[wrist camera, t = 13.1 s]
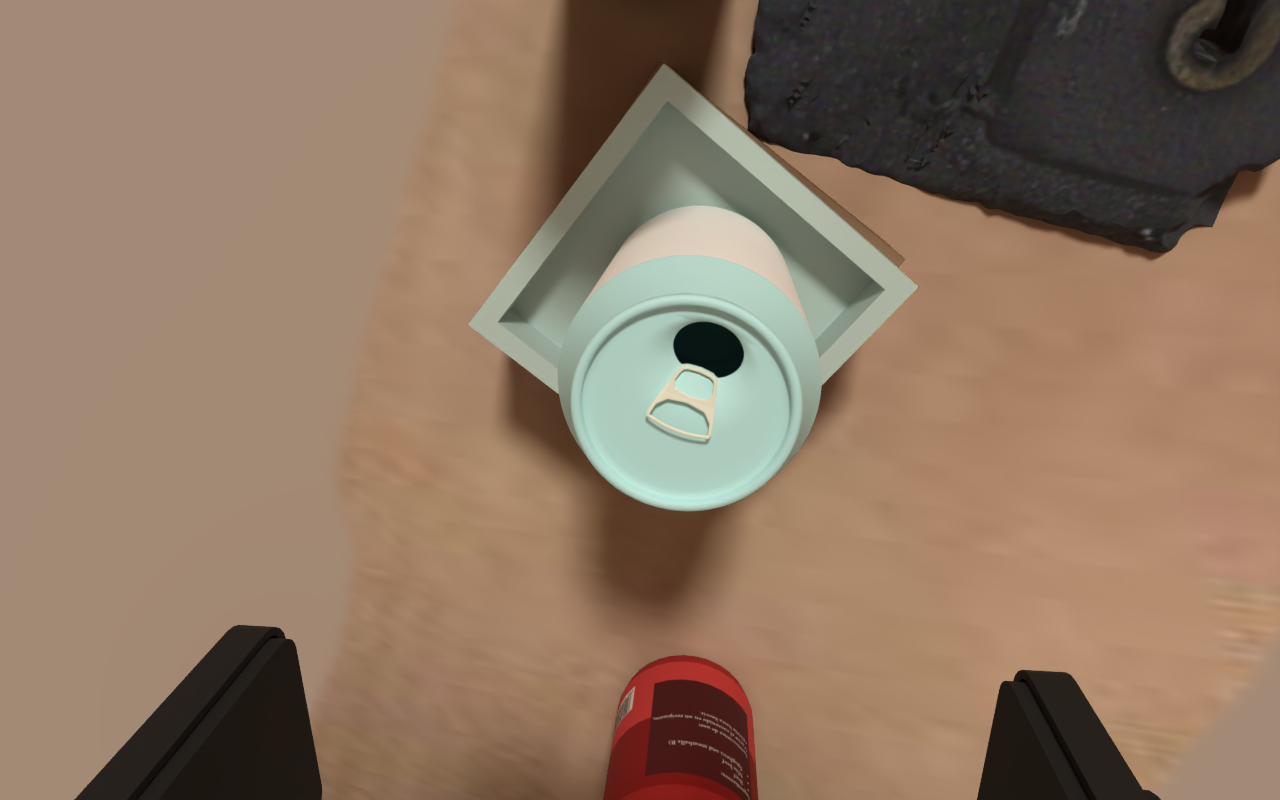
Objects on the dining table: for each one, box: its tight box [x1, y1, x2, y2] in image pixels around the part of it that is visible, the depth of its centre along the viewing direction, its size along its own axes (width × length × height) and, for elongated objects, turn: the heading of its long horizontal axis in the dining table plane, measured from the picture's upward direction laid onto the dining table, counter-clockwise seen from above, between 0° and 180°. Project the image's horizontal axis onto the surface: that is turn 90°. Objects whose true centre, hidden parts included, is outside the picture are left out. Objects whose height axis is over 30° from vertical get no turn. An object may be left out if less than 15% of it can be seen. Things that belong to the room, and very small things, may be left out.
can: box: [558, 206, 822, 512], centre depth 25 cm, size 7×7×12 cm
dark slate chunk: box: [745, 0, 1280, 253], centre depth 30 cm, size 15×22×5 cm
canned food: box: [603, 655, 758, 800], centre depth 41 cm, size 8×8×11 cm
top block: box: [469, 64, 918, 394], centre depth 31 cm, size 12×12×4 cm
